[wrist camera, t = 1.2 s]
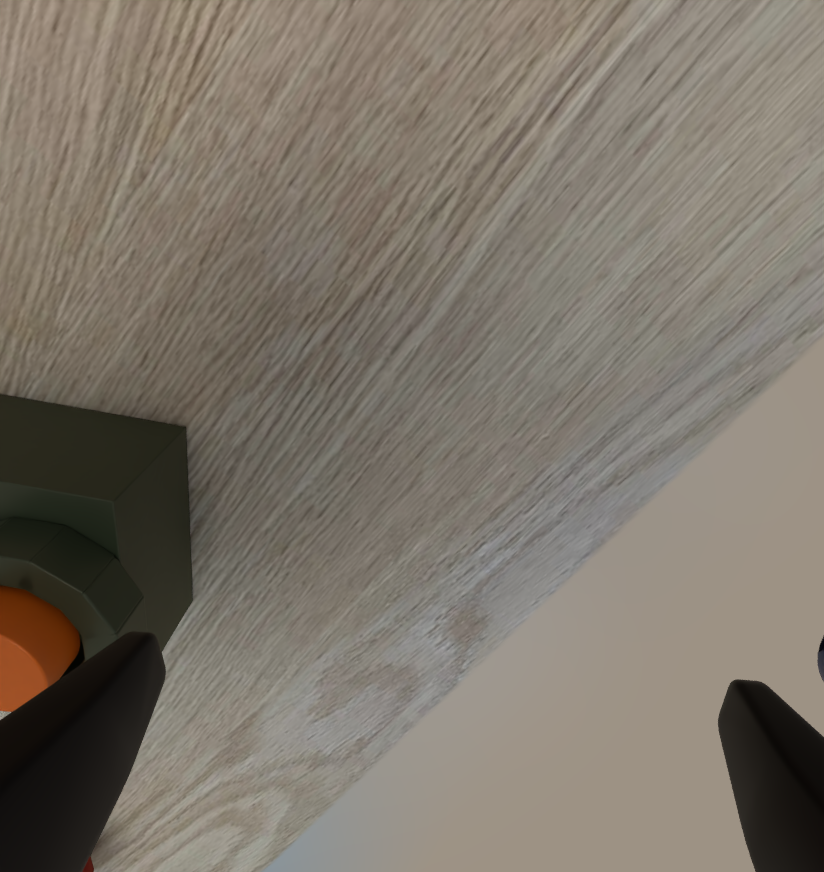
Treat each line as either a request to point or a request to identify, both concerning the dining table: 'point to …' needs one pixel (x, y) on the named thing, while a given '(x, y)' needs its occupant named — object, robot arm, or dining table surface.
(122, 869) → the dining table surface
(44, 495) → the green buzzer box
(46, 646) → the buzzer button
